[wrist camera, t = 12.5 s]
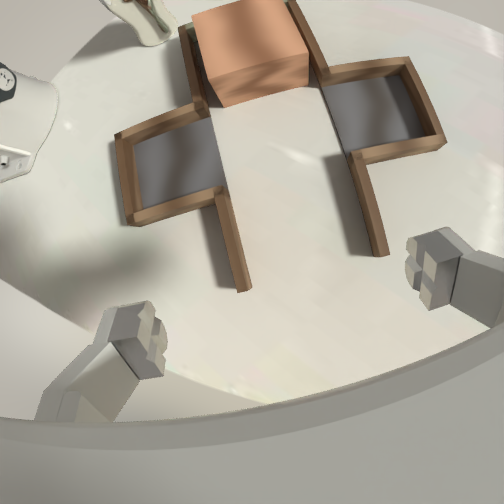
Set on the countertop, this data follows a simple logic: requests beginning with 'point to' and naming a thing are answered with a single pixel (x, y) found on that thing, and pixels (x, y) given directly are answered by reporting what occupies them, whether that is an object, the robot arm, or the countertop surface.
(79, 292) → the countertop surface
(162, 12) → the beer glass
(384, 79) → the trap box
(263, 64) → the terracotta block
